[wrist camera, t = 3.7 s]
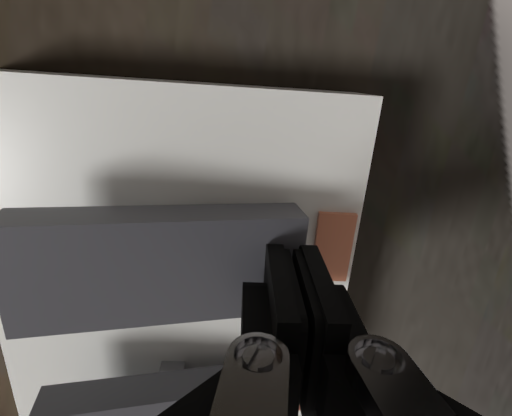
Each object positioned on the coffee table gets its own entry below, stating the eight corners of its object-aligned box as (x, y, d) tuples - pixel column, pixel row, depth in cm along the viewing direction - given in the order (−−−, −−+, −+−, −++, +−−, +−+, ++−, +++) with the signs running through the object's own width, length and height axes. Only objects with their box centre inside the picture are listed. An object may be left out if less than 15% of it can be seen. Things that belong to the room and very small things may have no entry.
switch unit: (-4, 68, 13) (-91, 66, 10) (355, 92, 14) (392, 97, 11) (70, 456, 21) (36, 531, 18) (297, 457, 22) (308, 528, 18)
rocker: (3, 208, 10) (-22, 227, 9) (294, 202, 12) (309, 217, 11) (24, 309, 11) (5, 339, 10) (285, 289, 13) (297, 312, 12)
